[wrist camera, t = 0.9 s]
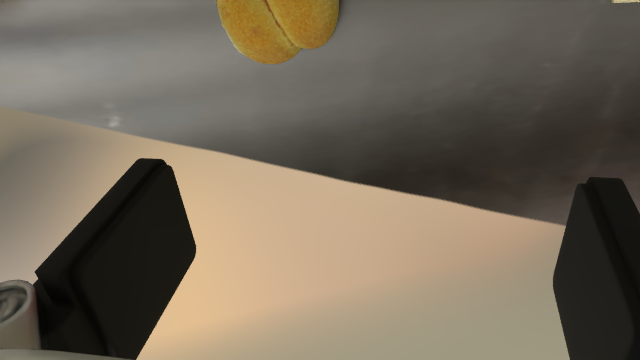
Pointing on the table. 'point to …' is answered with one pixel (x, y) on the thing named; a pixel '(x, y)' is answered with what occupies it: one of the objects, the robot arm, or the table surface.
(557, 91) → the table surface
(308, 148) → the table surface
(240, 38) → the bread roll
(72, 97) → the table surface
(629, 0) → the bracket
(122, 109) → the table surface
